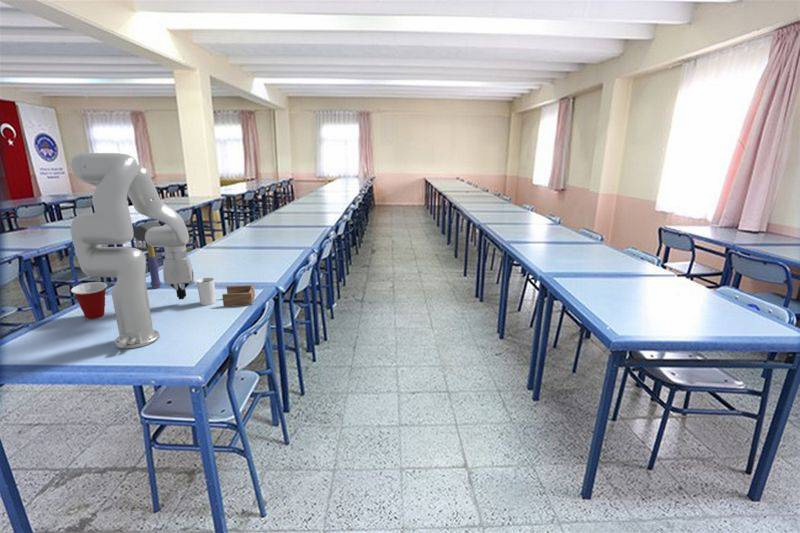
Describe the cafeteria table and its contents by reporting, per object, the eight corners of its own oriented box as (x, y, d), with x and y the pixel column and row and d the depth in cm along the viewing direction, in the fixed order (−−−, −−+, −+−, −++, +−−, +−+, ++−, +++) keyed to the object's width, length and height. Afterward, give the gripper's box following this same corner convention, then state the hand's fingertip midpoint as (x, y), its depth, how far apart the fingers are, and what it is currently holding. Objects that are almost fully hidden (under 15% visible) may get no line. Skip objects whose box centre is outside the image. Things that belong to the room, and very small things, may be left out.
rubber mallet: (157, 291, 183) (147, 225, 175) (140, 292, 182) (129, 225, 174) (171, 283, 195) (162, 220, 186) (155, 283, 194) (145, 220, 186)
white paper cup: (214, 298, 175) (212, 276, 173) (218, 303, 170) (216, 280, 167) (197, 302, 171) (194, 279, 169) (201, 306, 166) (198, 283, 164)
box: (252, 304, 170) (251, 293, 168) (223, 306, 167) (222, 294, 166) (255, 295, 180) (254, 284, 179) (228, 297, 178) (227, 286, 176)
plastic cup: (75, 324, 148) (69, 293, 145) (78, 314, 156) (71, 284, 153) (112, 318, 154) (106, 288, 150) (112, 309, 162) (107, 280, 159)
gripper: (152, 258, 158) (158, 302, 163) (194, 256, 161) (199, 300, 166) (158, 253, 165) (164, 296, 170) (198, 251, 168) (203, 294, 173)
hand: (182, 298), depth 168 cm, fingers closed
